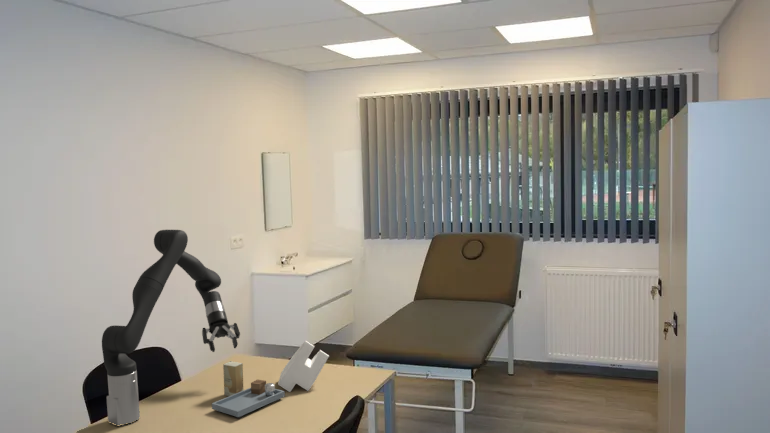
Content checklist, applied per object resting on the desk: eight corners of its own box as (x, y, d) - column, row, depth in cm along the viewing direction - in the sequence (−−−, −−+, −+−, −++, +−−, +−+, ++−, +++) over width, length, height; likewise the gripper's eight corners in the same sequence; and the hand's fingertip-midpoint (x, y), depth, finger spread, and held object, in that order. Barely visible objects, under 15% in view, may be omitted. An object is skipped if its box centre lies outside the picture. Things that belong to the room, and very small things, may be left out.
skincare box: (223, 395, 228) (222, 364, 227) (231, 391, 231) (230, 360, 231) (236, 398, 225) (235, 366, 224) (244, 394, 228) (242, 362, 228)
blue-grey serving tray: (238, 420, 204) (237, 411, 204) (212, 411, 212) (211, 403, 212) (284, 399, 222) (284, 391, 222) (259, 391, 230) (258, 384, 230)
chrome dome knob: (269, 397, 219) (269, 387, 219) (263, 395, 221) (262, 385, 221) (277, 394, 222) (276, 384, 221) (270, 392, 224) (269, 382, 224)
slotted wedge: (301, 399, 230) (328, 361, 229) (277, 384, 228) (304, 345, 228) (303, 387, 243) (329, 350, 243) (281, 372, 242) (306, 336, 242)
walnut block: (260, 394, 222) (259, 384, 222) (251, 393, 224) (250, 382, 224) (266, 391, 226) (266, 380, 225) (258, 389, 228) (257, 379, 227)
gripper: (199, 312, 240) (207, 347, 230) (234, 307, 246) (244, 341, 237) (197, 322, 245) (205, 357, 236) (232, 317, 252) (241, 350, 242)
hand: (224, 349), depth 236 cm, fingers open, 8 cm apart
